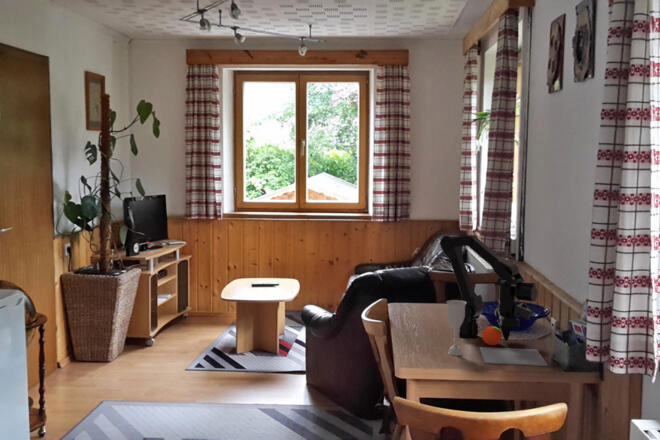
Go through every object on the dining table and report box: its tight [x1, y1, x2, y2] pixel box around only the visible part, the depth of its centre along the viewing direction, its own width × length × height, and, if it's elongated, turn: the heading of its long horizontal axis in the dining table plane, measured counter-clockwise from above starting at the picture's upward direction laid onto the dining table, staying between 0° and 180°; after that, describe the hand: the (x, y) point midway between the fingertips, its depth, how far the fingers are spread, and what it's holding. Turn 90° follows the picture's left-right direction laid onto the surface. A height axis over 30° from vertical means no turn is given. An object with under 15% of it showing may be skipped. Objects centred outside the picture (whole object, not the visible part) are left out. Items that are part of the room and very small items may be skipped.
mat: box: [479, 346, 549, 367], centre depth 220 cm, size 20×18×1 cm
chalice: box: [446, 299, 467, 357], centre depth 222 cm, size 7×7×18 cm
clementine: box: [481, 325, 503, 346], centre depth 233 cm, size 8×7×7 cm
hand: (506, 340), depth 235 cm, fingers closed
